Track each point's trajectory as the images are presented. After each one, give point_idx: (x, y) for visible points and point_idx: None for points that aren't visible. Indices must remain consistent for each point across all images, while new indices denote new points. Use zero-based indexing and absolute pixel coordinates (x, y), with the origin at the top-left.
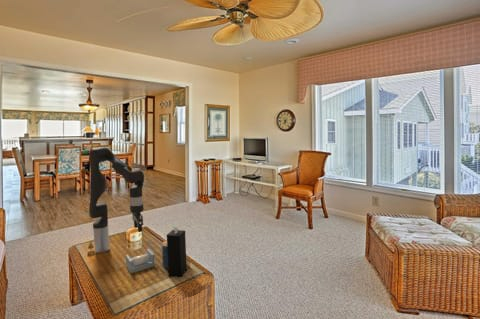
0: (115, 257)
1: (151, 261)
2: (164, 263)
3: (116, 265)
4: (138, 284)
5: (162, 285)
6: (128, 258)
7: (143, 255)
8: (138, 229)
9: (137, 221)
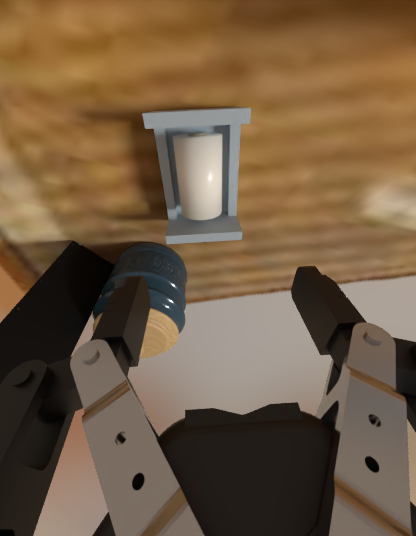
0: (389, 66)
1: (180, 218)
2: (131, 253)
3: (290, 49)
4: (38, 123)
5: (14, 208)
6: (189, 114)
7: (198, 202)
8: (119, 299)
9: (91, 430)
